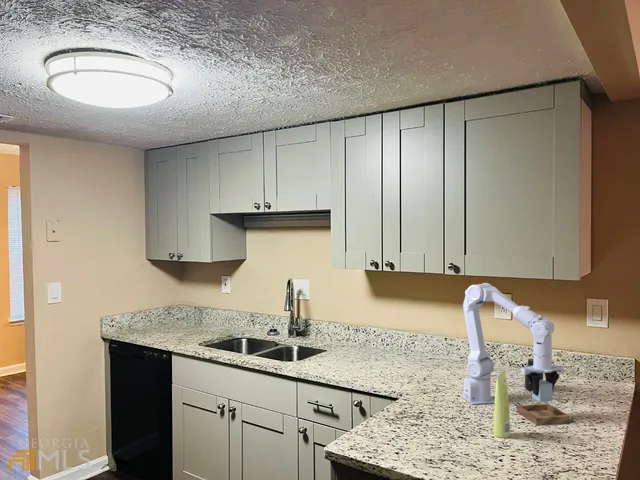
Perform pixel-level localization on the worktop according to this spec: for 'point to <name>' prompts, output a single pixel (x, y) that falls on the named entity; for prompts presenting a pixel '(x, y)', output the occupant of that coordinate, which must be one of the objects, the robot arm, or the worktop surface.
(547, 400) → the block
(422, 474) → the worktop surface
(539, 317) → the robot arm
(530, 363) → the supplement bottle
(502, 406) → the tube
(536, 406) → the tray
